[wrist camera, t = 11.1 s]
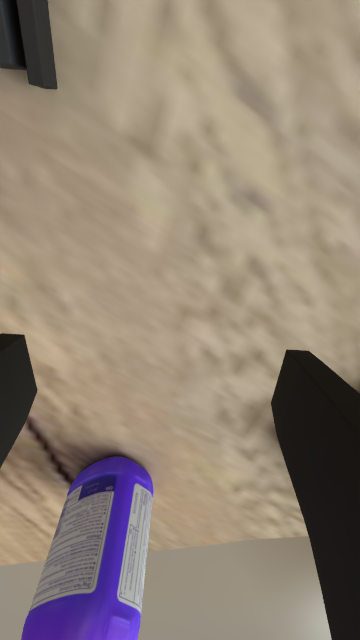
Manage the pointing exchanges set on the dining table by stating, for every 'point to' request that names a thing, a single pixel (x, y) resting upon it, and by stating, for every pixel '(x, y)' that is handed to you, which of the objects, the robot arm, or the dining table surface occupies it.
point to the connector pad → (11, 37)
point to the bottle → (96, 558)
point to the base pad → (37, 42)
